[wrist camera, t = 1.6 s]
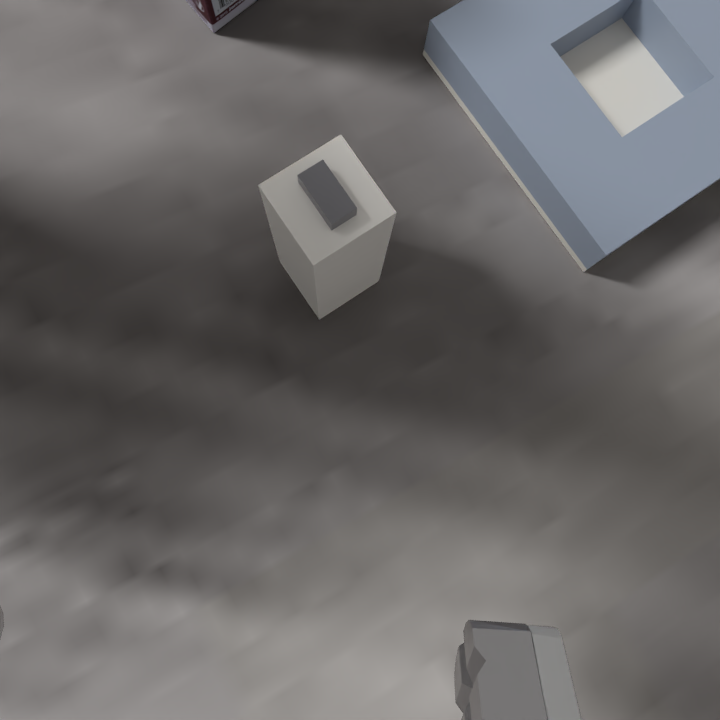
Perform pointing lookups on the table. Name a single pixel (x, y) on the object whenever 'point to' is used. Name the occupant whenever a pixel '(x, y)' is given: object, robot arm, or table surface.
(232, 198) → the table surface
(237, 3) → the supplement box
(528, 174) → the blue-gray square socket base
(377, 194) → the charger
